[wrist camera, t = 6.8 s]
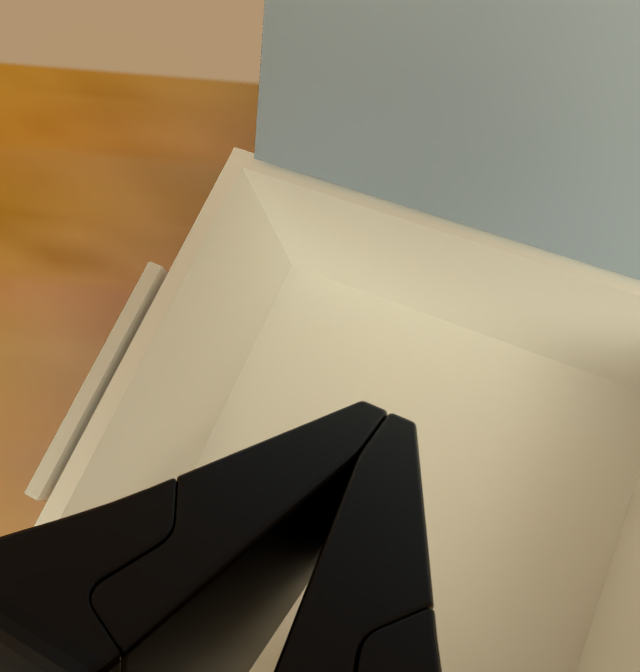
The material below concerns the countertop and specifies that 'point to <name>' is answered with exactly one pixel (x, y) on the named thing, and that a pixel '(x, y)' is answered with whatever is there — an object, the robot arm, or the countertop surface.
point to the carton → (394, 400)
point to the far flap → (466, 113)
